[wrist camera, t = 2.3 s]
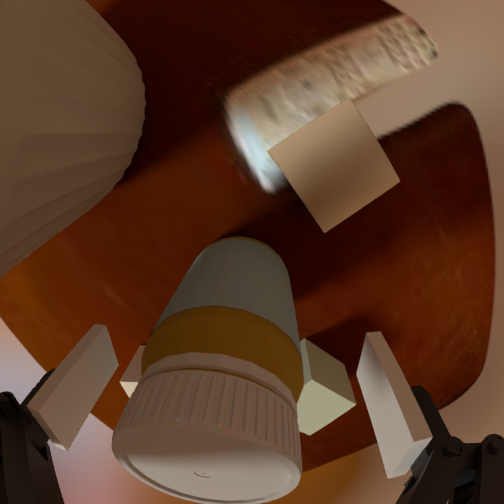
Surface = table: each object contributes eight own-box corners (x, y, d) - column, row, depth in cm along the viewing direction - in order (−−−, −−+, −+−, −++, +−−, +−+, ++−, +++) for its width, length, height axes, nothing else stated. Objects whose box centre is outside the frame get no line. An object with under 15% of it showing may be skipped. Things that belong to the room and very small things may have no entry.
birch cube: (266, 151, 18) (267, 151, 13) (328, 110, 17) (349, 98, 12) (310, 212, 19) (324, 233, 15) (369, 173, 18) (400, 181, 13)
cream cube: (140, 345, 24) (119, 381, 19) (191, 341, 23) (176, 382, 19) (159, 384, 25) (144, 421, 21) (207, 382, 25) (197, 423, 20)
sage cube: (264, 372, 24) (263, 414, 19) (304, 337, 23) (311, 379, 18) (304, 394, 25) (309, 435, 20) (344, 363, 23) (356, 404, 19)
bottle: (281, 226, 20) (313, 407, 5) (293, 314, 22) (315, 504, 8) (182, 241, 20) (59, 400, 6) (205, 325, 22) (151, 500, 8)
